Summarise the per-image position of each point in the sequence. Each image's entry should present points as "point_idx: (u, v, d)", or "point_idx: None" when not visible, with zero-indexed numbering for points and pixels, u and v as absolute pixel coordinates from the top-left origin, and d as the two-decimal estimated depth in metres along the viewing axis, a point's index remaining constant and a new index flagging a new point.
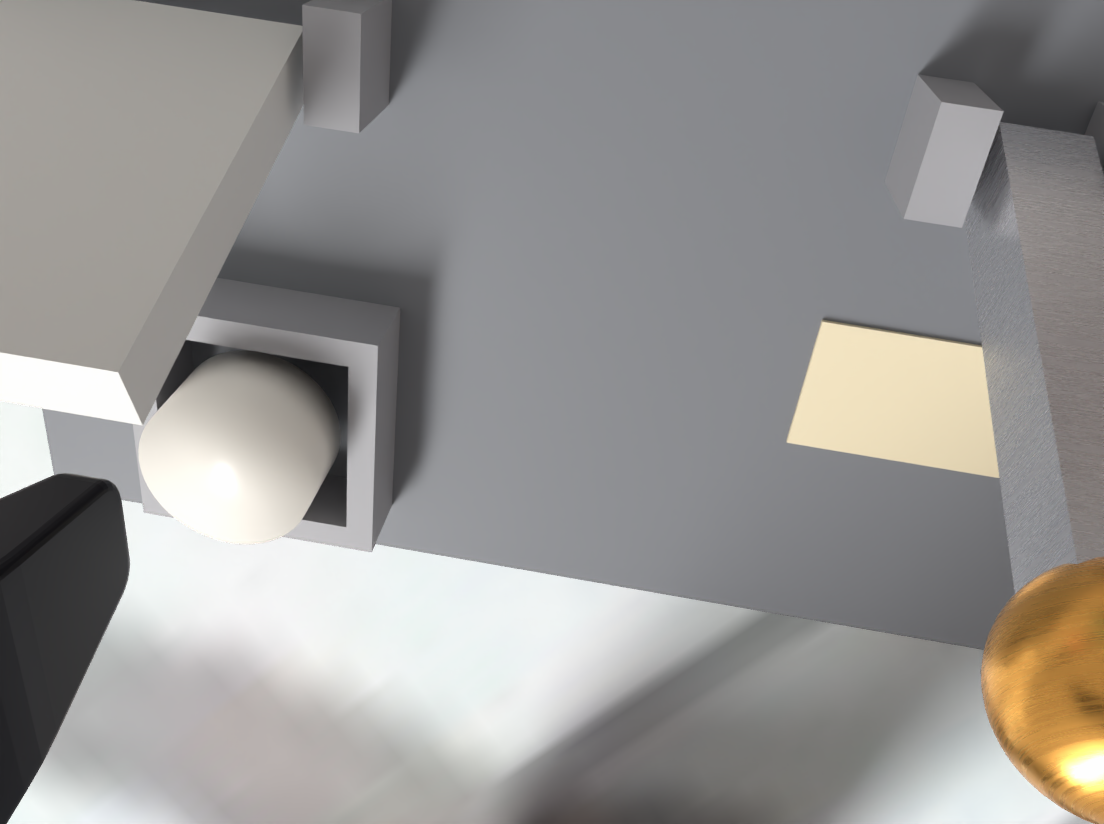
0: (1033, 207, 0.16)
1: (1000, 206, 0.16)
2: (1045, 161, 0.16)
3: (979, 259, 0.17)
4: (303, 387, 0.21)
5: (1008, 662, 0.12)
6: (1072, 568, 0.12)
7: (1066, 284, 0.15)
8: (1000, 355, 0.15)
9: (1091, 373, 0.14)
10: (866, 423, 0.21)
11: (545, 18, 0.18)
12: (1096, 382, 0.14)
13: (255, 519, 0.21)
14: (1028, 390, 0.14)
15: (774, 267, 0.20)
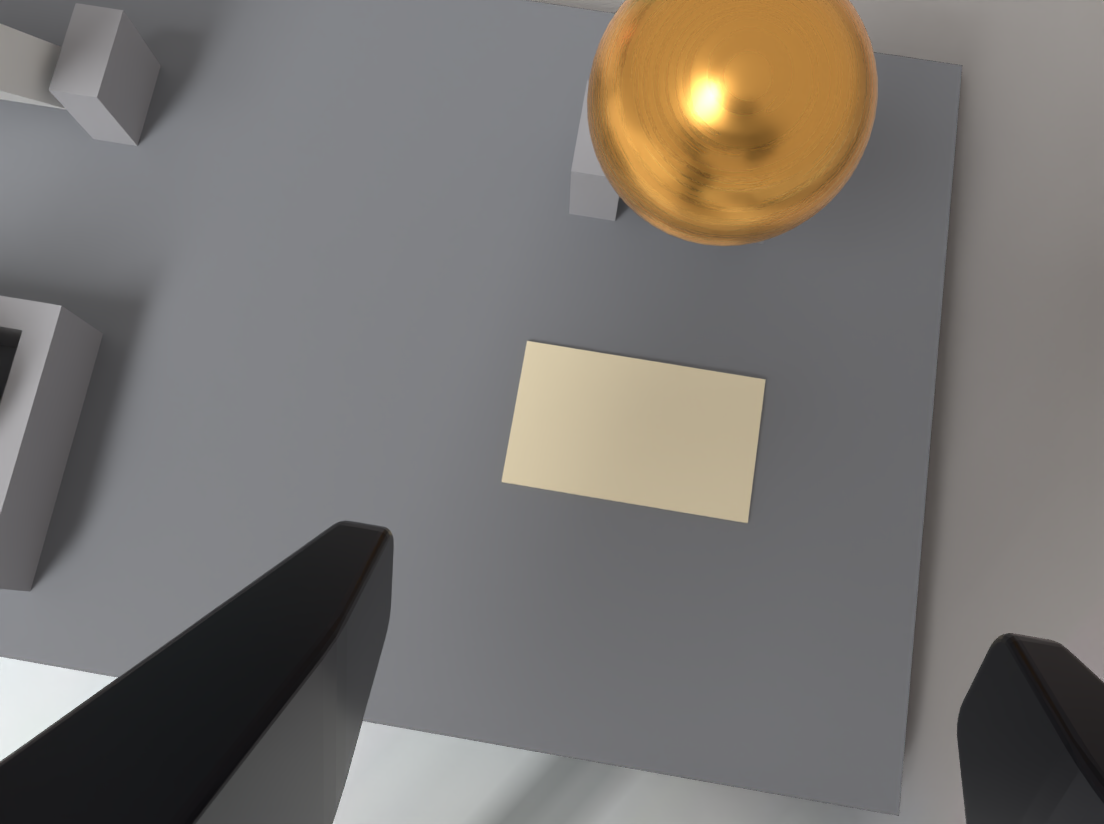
0: None
1: None
2: None
3: None
4: None
5: (596, 51, 0.11)
6: None
7: None
8: None
9: None
10: (582, 454, 0.20)
11: (284, 84, 0.22)
12: None
13: None
14: None
15: (478, 290, 0.21)
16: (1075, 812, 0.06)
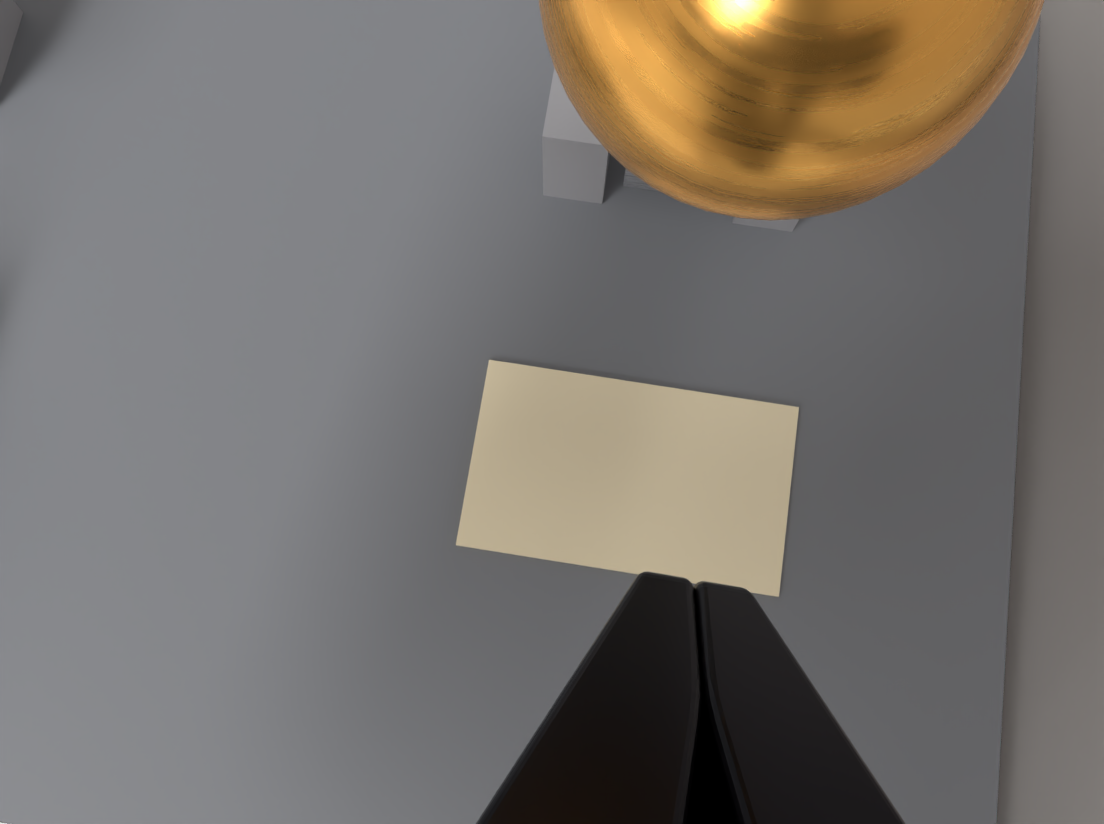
0: None
1: None
2: None
3: None
4: None
5: None
6: None
7: None
8: None
9: None
10: (561, 508, 0.15)
11: (180, 35, 0.17)
12: None
13: None
14: None
15: (426, 295, 0.16)
16: (699, 746, 0.06)
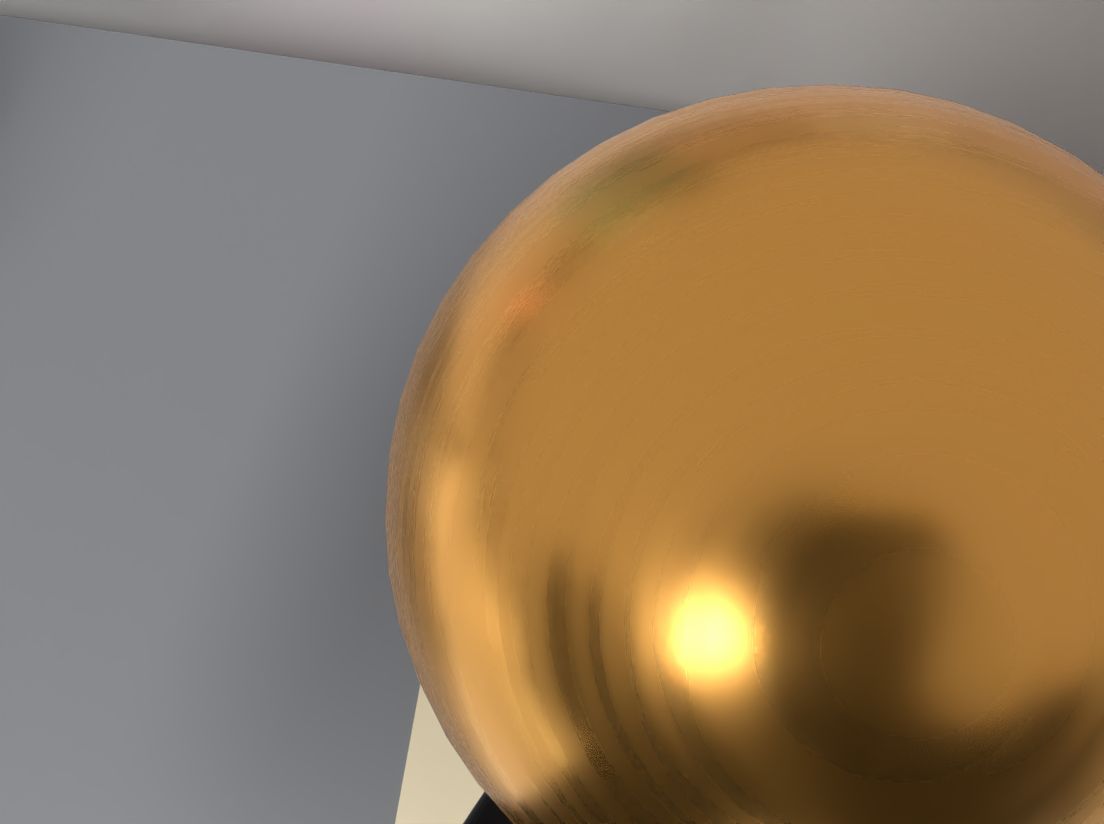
0: None
1: None
2: None
3: None
4: None
5: None
6: None
7: None
8: None
9: None
10: None
11: (79, 209, 0.15)
12: None
13: None
14: None
15: (361, 530, 0.14)
16: None
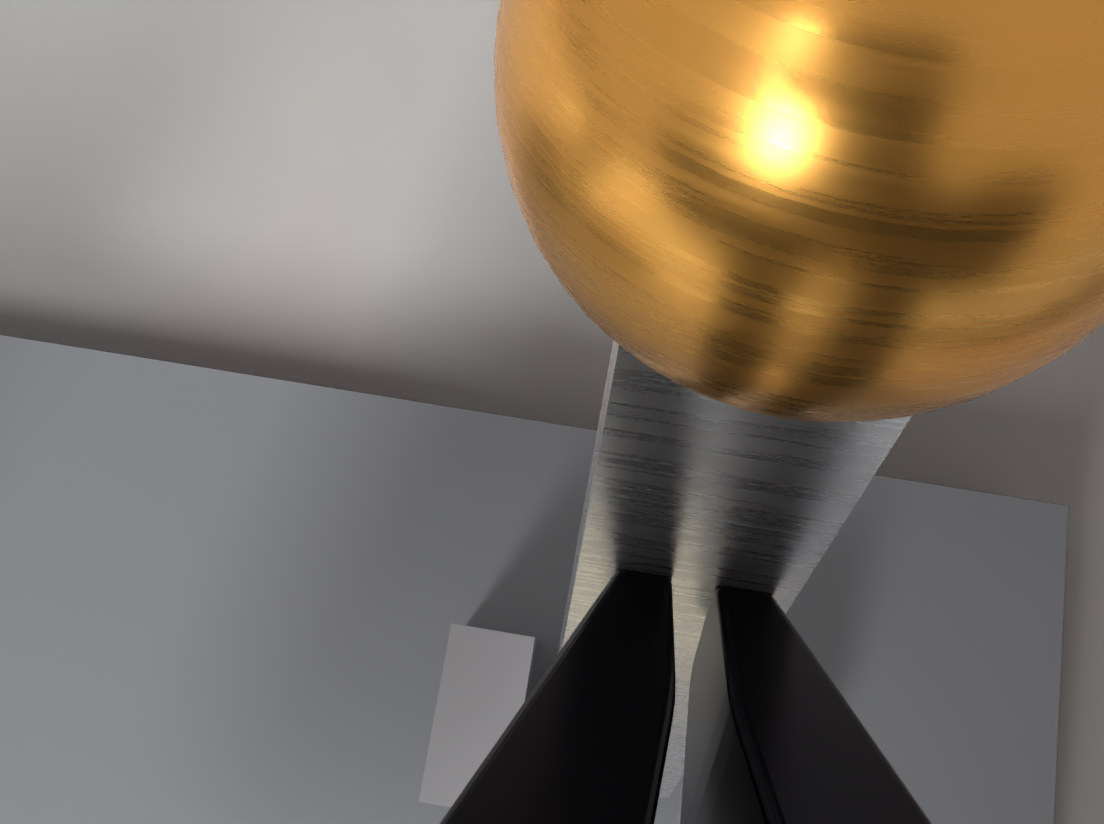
0: None
1: None
2: None
3: None
4: None
5: None
6: None
7: None
8: (572, 588, 0.09)
9: None
10: None
11: None
12: None
13: None
14: None
15: None
16: (725, 751, 0.06)
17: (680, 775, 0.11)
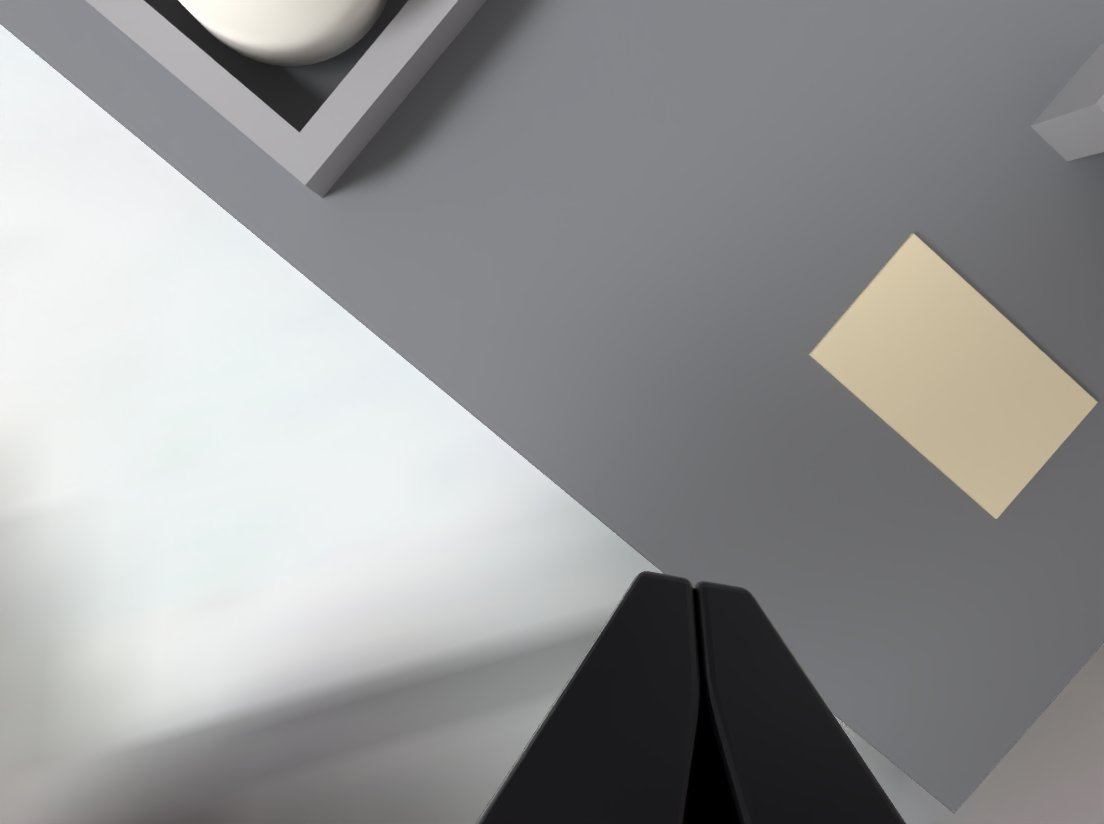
0: None
1: None
2: None
3: None
4: None
5: None
6: None
7: None
8: None
9: None
10: (896, 373, 0.19)
11: None
12: None
13: None
14: None
15: (898, 152, 0.19)
16: (699, 746, 0.06)
17: None
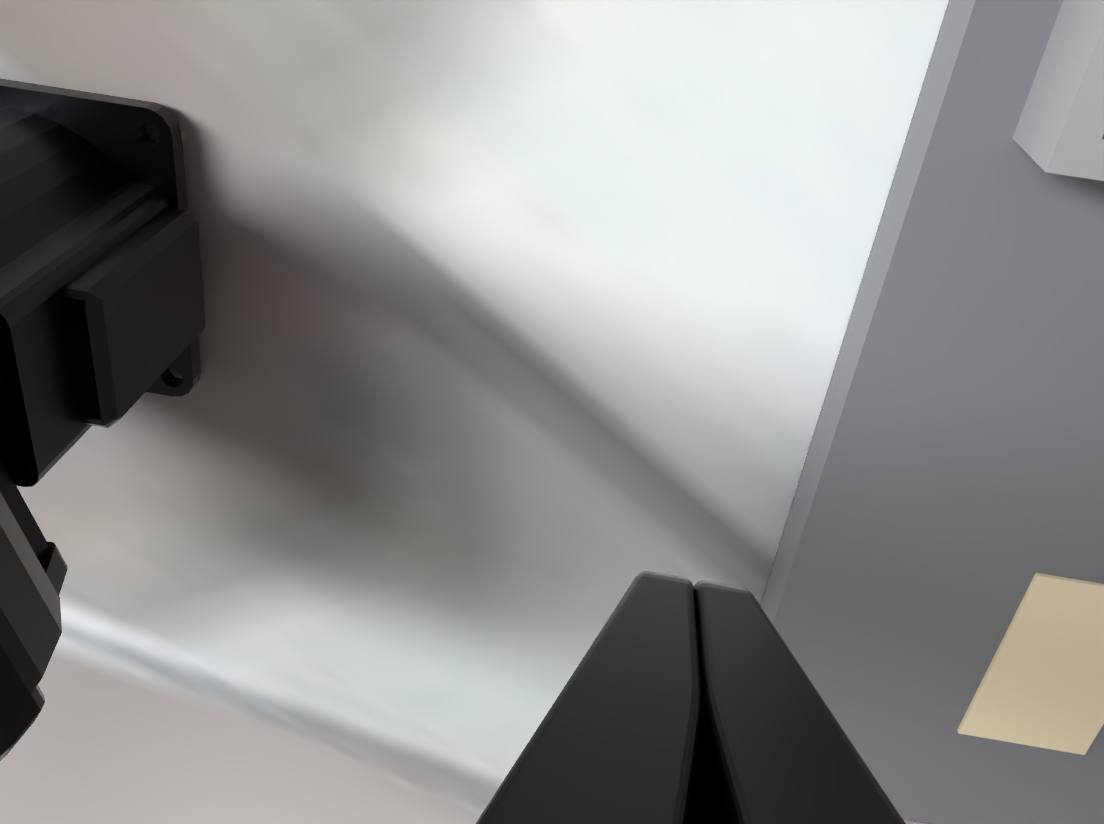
0: None
1: None
2: None
3: None
4: None
5: None
6: None
7: None
8: None
9: None
10: (1048, 634, 0.22)
11: None
12: None
13: None
14: None
15: None
16: (699, 746, 0.06)
17: None
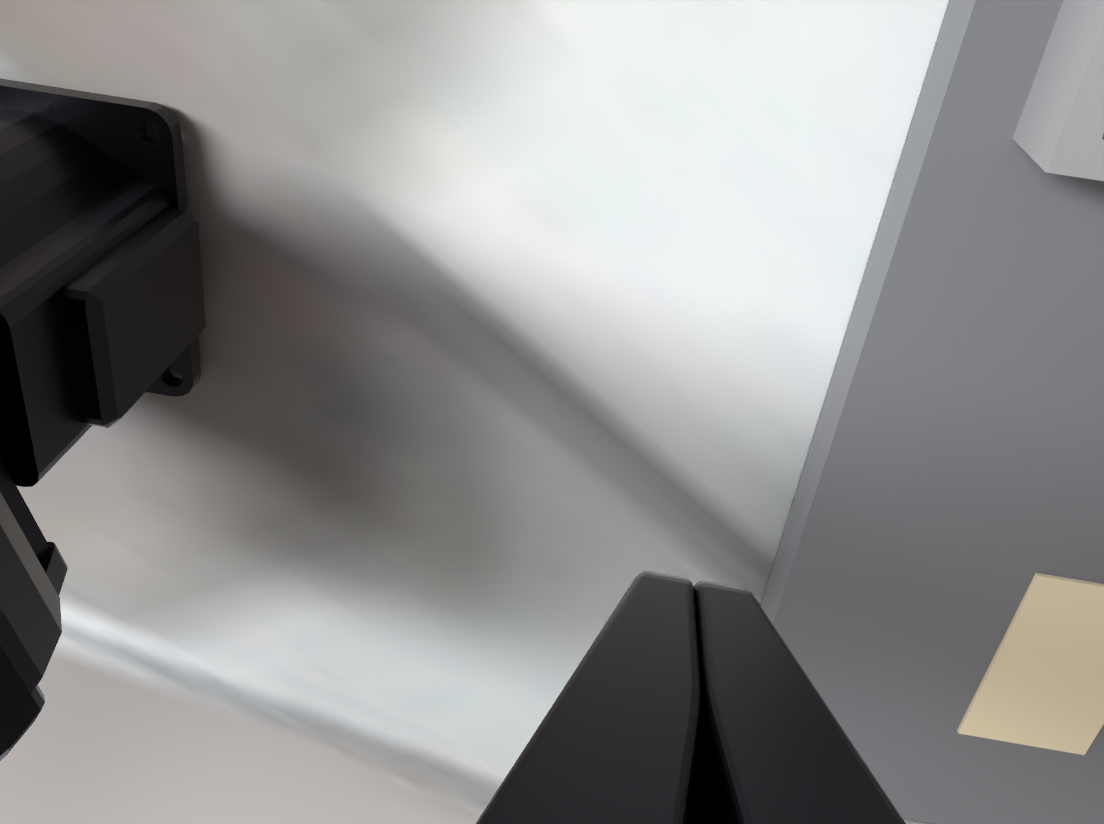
0: None
1: None
2: None
3: None
4: None
5: None
6: None
7: None
8: None
9: None
10: (1048, 634, 0.22)
11: None
12: None
13: None
14: None
15: None
16: (699, 746, 0.06)
17: None
